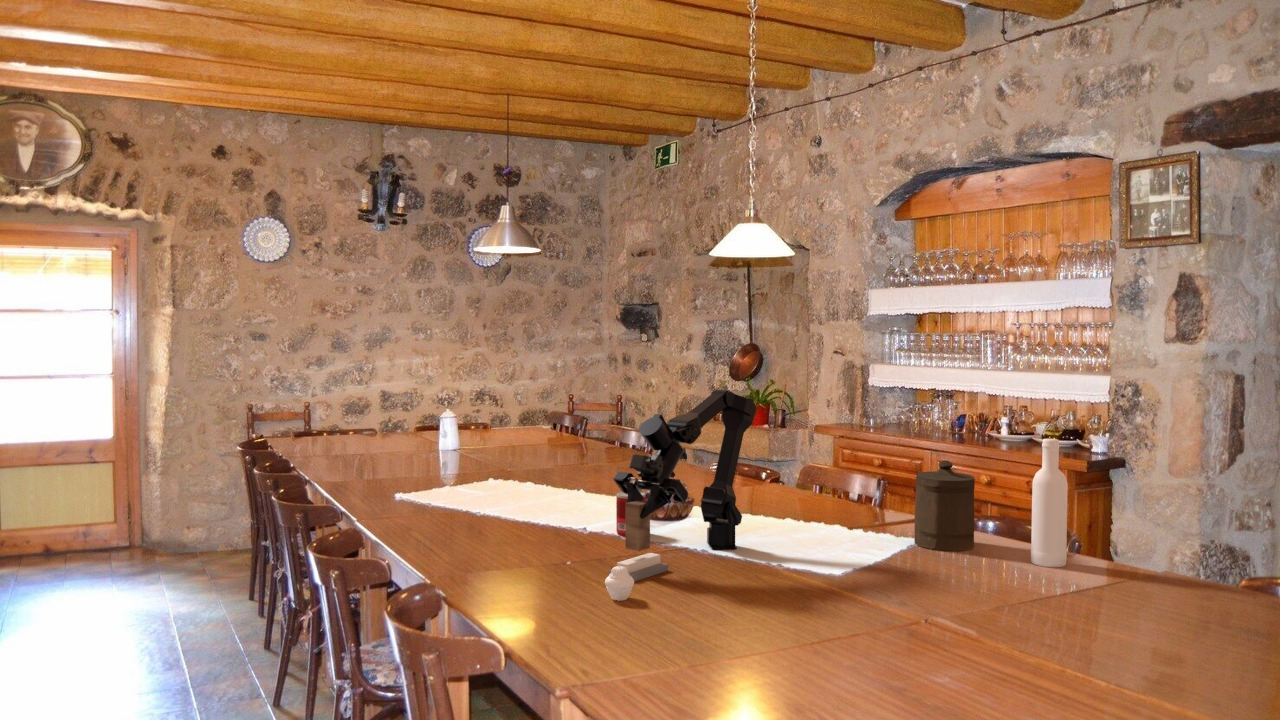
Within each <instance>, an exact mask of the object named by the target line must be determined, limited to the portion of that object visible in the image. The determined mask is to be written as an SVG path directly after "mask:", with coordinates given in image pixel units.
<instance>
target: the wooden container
mask: <svg viewBox="0 0 1280 720" xmlns="http://www.w3.org/2000/svg"><path fill="white" fill-rule="evenodd" d="M938 467H939V468H938V470H937V471H934V470H933V471H932V470H931V471H920V472H918V473H917V472H916V477H915V482H916V483H915V484H916V485H915V499H914V500H915V501H914V502H915V503H914V544H916V546H919V547H921V548H923V549H929V550H935V551H941V552H942V551H945V552H964V551H969V550H972V549H973V548H974V547H975V486H976V484H975V483H976V481H975V480H976V479H975V476H973V475H971V474H968V473H962V472H956V471H953V470H952V468H953V463H952V462H950V460H947V459H946V460H941V461H939V463H938Z"/></svg>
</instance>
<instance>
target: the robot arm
mask: <svg viewBox="0 0 1280 720" xmlns="http://www.w3.org/2000/svg"><path fill="white" fill-rule="evenodd" d="M756 412H757V405H756V403H755V402H754V400H753V399H752V398H749V397H744V396H742V395H739V394H737V393H735V392H733V391H730V390H727V389H714V390H712V391H711V393H710V395H709V396H707V397H706V398H705V399H703V401H701V402H700V403H699V404H698V405H697V406H695V407H694V408H693V409H691V410H690V411H689V412H687V413H684V414H680V415H676V416H674V417H672V418H670V419H668V421H666V420H665V417H664V416H663V415H662V414H659V413H654V415H653V416H652V417H649V418H647V419H646V420H645V421H644V422H642V423H640V426H639V433H640V435H641V436H642V437H643V439H644V440H645V442H646V443H647V445H648V447H650V449H652V450H653V451H655V453H654V454H652V455H651V456H647V455H641V454H635V453H634V454H632V456H631V460H630V463H629V469H633V470H635V471H637V472H636V474H637V476H638V477H640V478H641V479H638V478H636V477H635V475H634V474H633V473H632V472H627V471H618V472H617V473H616V474H615V476H614V477H613V479H612V480H613V482H615V484H616V485H617V487H618V488H619V489H620V491H621V492H623V493H625V494H628V499H627V503H628V502H633V501H643V499H644V497H643V496H642V495H641V492H642V491H643V490H645V491H650V492H649V496H648V498H647V499H646V504H645V506H644V508H643V509H642V512H641V514H640V517H641V519H644V518H645V517H647V516H648V515H650V516H651V514H653V513H654V512H655V511H657V510H659V509H661V508H663V507H664V506H666V505H668V504H669V505H670V504H671V503H672V501H671V500H672V499H671V498H673V501H674V502H675V503H679V504H685V503H686V501H687V499H688V498H689V492H688V490H687V488H686V487H685V486H684V484H683V482H682V481H681V480H680V479H676V478H674V477H675V476H676V473H675V469H676V466H677V465H678V463H679V462H680V460H688V454H687V452H686V447H683V446H682V445H681V444H686V445H692V444H694V443H695V442H696V441H697V440H698V439H699V437H700V436H701V434H702V428H703V427H704V426H705V425H706V424H707V423H709V422H710V421H711V420H712V419H714V418H715V417H716V416H718V415H719V414H720V413H721V420H722V422H723V425H724V431H723V438H722V441H721V446H720V450H719V451H720V452H719V455H718V460H717V463H716V468H715V473H714V474H715V475H714V479H713V482H712V483H711V484H710V485H709V486H705V487H704V488H703V490H702V497H701V500H700V510H701V513H702V519H703V522H704V523H709V526H708V527H706V530H707V531H706V534H707V535H706V544H707V545H708V546H709V547H710V549H711V550H729V549H730V550H733V549H737V548H738V546H737V545H736V526H739V525H740V524H742V519H743V515H742V513H741V512H740V510H739V509H738V507H737V506H736V502H737V496H736V493H735V491H734V487H733V486H734V485H733V484H734V482H735V481H734V480H735V476H736V471H737V467H738V462H739V457H740V452H741V446H742V442H743V439H744V438H743V437H744V434H745V432H747V430H748V429H749V428H750V427H751V426H752V425H753V422H754V419H755V415H756Z"/></svg>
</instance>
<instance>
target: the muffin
mask: <svg viewBox="0 0 1280 720" xmlns="http://www.w3.org/2000/svg"><path fill="white" fill-rule="evenodd" d="M610 570H611V574H609V573H608V576H607V577H606V578H605V580H604V585H605V586H606V590H607V592H608V594H609V597H610V598H611V600H613V601H616V600H617V601H616V602H619V601H627V600H628V598H629V595H630V594H631V592H632V589H633V586H634V584H635V582H634V579H633V578H632V577H631V576H630V575H629V573H628V570H627V568H625V567H623V566H617V565H615V566H614V567H612V569H610Z"/></svg>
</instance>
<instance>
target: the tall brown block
mask: <svg viewBox="0 0 1280 720" xmlns="http://www.w3.org/2000/svg"><path fill="white" fill-rule="evenodd" d="M646 502H647V501H646ZM646 502H643V501H633V502H628V503H625V530H626V536H625V549H627V550H631V551H636V552H641V551H645V550H648V549H651V514H650V515H648V516H647V517H645V518H644V519H641V517H640V514H641V512H642V509H643V508H644V506H645V504H646Z"/></svg>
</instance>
